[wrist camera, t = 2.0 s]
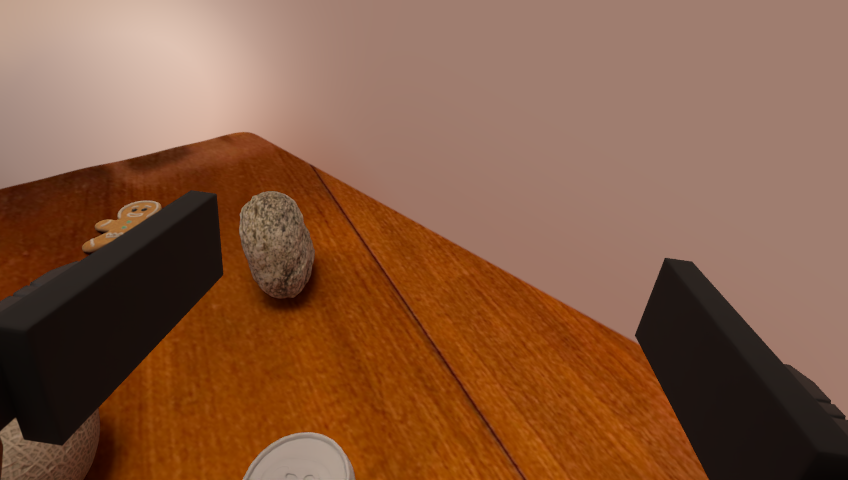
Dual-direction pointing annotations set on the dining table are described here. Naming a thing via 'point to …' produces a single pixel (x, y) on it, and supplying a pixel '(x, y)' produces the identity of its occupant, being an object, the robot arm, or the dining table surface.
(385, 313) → the dining table surface
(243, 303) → the dining table surface
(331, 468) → the beverage can
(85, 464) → the fruit
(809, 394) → the robot arm
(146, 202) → the cookie
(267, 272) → the stone
